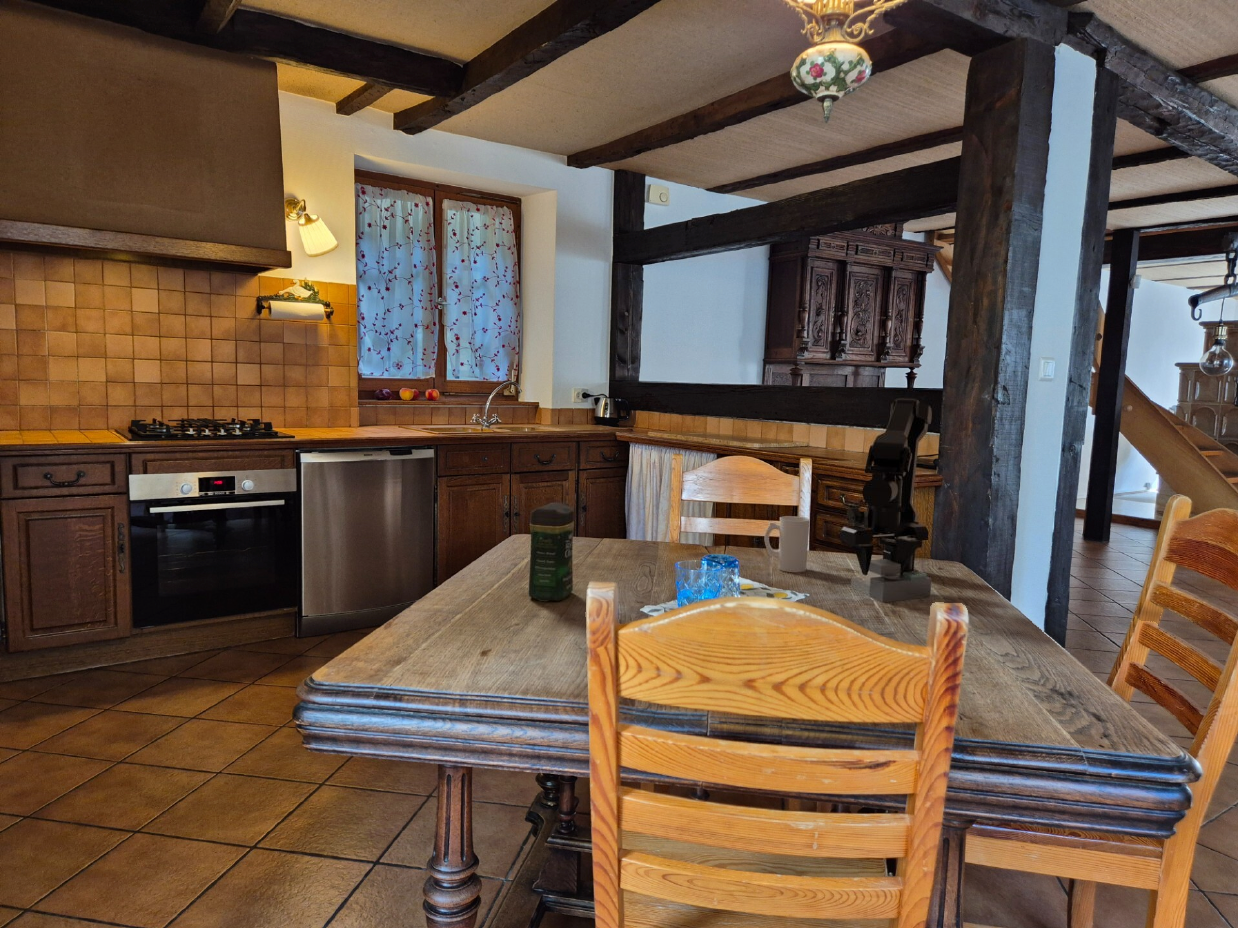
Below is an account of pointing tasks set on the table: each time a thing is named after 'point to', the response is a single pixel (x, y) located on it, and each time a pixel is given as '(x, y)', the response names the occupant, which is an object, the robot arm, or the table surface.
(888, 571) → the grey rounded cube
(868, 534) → the robot arm
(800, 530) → the mug
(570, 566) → the coffee jar
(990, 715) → the table surface
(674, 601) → the table surface
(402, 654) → the table surface
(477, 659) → the table surface
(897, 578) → the knobbed block assembly
